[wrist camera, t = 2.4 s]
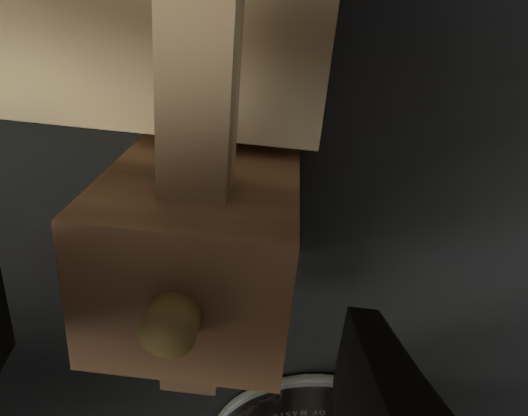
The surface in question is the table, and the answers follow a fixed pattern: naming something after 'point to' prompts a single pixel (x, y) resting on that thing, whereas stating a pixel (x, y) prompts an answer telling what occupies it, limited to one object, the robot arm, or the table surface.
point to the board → (141, 67)
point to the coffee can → (287, 398)
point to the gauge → (186, 228)
